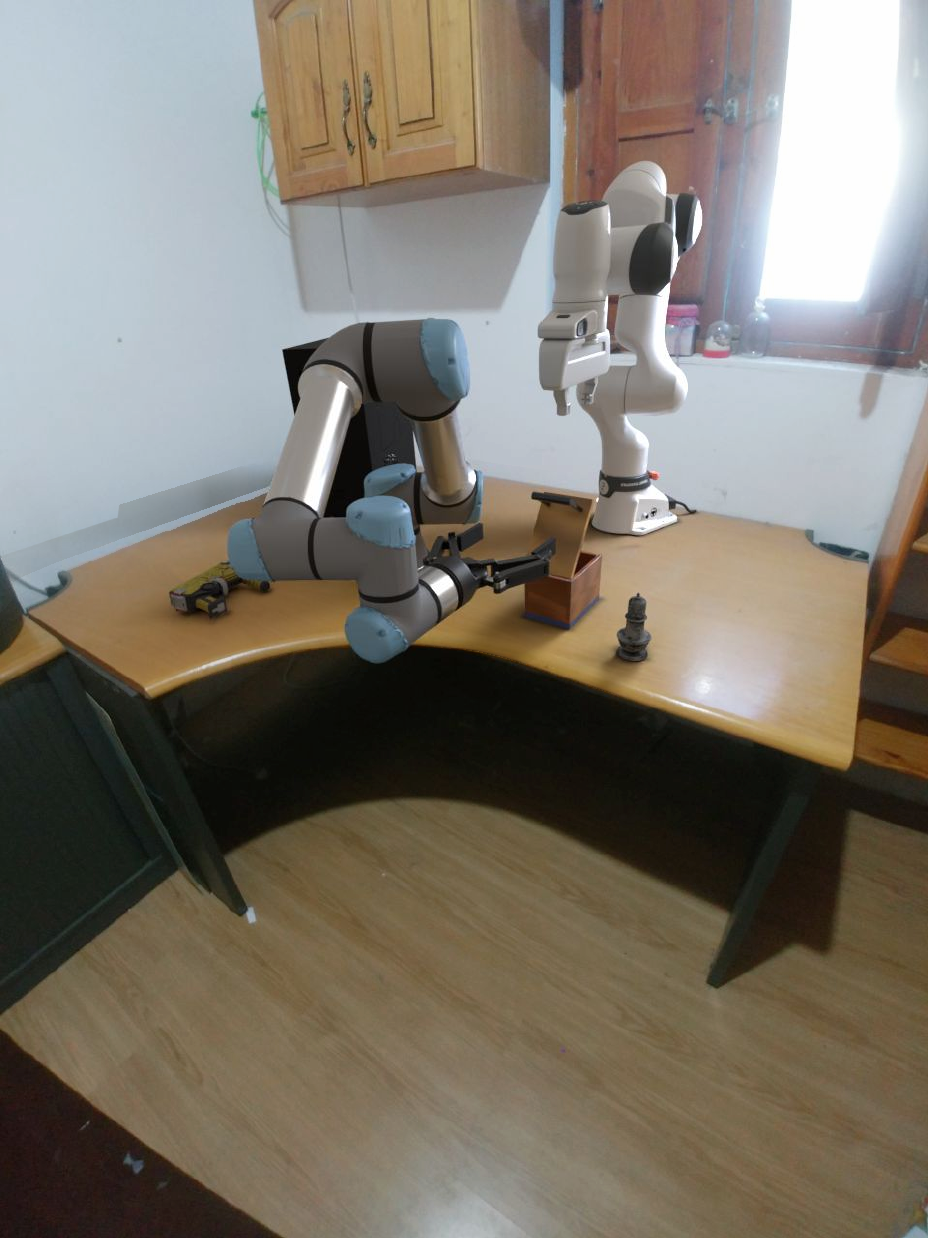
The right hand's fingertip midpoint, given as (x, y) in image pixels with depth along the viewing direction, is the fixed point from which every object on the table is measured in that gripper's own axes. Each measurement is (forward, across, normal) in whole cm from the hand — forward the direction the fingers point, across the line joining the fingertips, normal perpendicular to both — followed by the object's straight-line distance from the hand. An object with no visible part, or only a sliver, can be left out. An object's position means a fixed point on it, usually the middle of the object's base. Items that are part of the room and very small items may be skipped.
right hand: (575, 409), depth 105 cm
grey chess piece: (+38, +12, +18) cm, 44 cm away
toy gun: (+38, +32, -66) cm, 83 cm away
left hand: (+16, +21, 0) cm, 26 cm away
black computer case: (+38, -32, -84) cm, 98 cm away
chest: (+38, +3, 0) cm, 38 cm away
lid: (+22, +5, 0) cm, 22 cm away
